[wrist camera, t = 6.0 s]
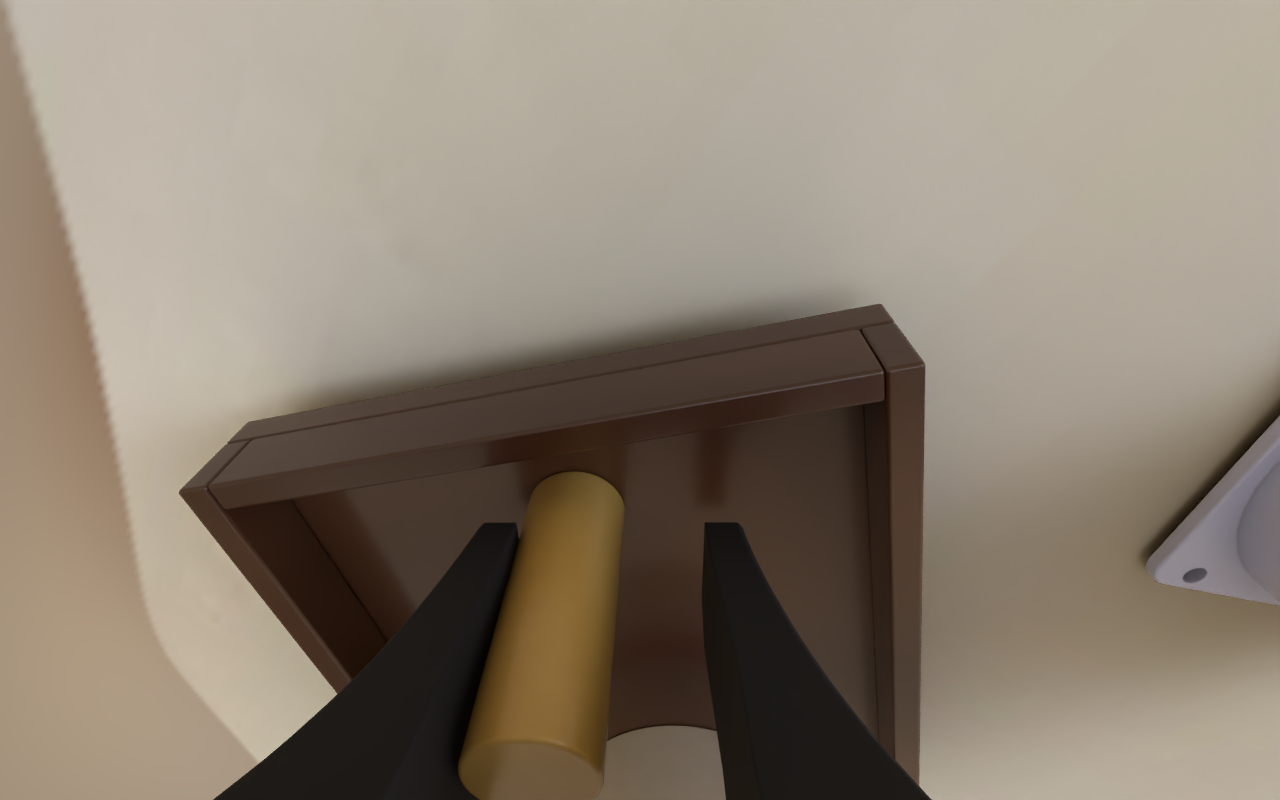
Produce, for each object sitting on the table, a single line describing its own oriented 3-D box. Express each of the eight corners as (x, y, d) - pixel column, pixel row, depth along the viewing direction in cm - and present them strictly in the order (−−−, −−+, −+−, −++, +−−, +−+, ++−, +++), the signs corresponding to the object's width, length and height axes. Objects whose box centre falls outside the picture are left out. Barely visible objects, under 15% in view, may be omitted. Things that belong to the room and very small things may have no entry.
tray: (894, 801, 21) (975, 1079, 15) (519, 829, 22) (474, 1086, 17) (881, 301, 11) (1075, 562, 6) (247, 420, 13) (-36, 700, 8)
